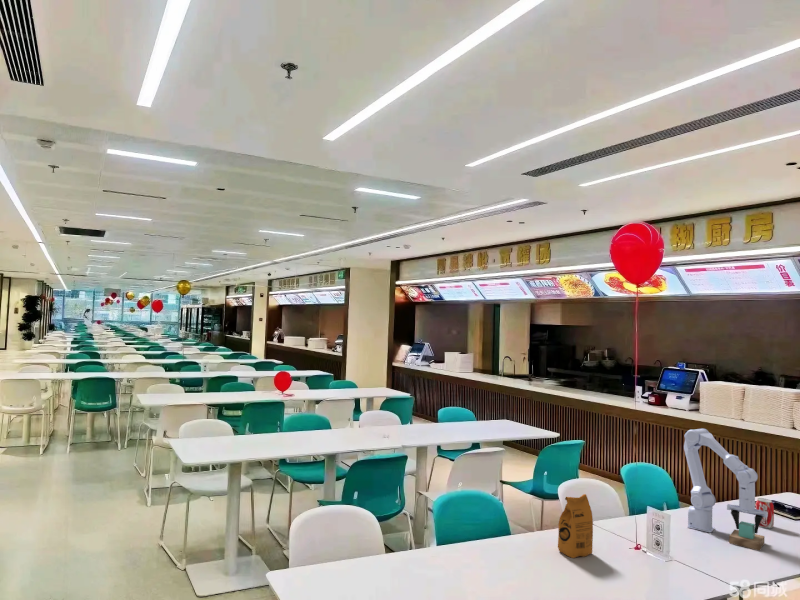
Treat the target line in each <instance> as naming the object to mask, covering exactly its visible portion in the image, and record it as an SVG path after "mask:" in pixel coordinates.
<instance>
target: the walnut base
mask: <svg viewBox="0 0 800 600" xmlns="http://www.w3.org/2000/svg"><path fill="white" fill-rule="evenodd" d="M728 536H729V537H728V538H729V539H728V540H729V541H728V543H729V544H731V545H736V546H739V547H740V546H741V547H743V548H747V549H752V550H756V551H761V550H762V549H763V546H764V545H765V535H761V534H758V533H757V534H756V533H755V537H754V538H753V539H749V538H745V537H741V536H739V529H733V531H732V532H731V533H730V534H729V535H728Z"/></svg>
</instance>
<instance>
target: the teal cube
mask: <svg viewBox="0 0 800 600" xmlns="http://www.w3.org/2000/svg"><path fill="white" fill-rule="evenodd" d="M738 530H739V536H741V537H745V538H749V539H753V538H754V537H755V534H756V533H755V523H751V522H748V521H747V522H746V521H742V520H741V521H739V529H738Z"/></svg>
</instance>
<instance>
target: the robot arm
mask: <svg viewBox="0 0 800 600" xmlns="http://www.w3.org/2000/svg"><path fill="white" fill-rule="evenodd" d="M683 435H684V443H683V450H684V454H685V457H686V462H687V466H688V471H689V474H690V478H691V479H690V480H691V482H692V486H693V487H692V488H691V490H690V494H691V495H690V496H691V497H690V502H691V505H690V506H689V507H688V511H687V528H689V529H694V530H697V531H702V532H707V533H712V532H713V531H714V530H715V529H716V528H715V527H714V526H713V509H714V508H713V507H714V506H715V504H716V502H717V501H716V497H715V495H714V494H713V493H712V489H711V488H710V487H708V485H707V481H706V479H705V474H704V470H703V466H702V461H701V458H700V454H699V450H700V449H701V446H705V447H708V448H709V449H711V450H712V451H713V452H714V453H716V454H717V456H719V457H720V458H721V459H723V460H722V461H723V464H724V465H725V467H727V468H728V469H729V470H730V471H731V472H732V473H733V474H734V475H735V477H736V480H737V482H738V505H737V504H729V503H727V505H726V510H728V511H730V514H731V516H732V518H733V521H734V523H735V528H736V529H735V530H739V523H740V513H744V514H749V515H752V516H753V515H754V524H755V534H757V535H758V531H759V527H760V526H759V524H760V522H761V520H762V518H763V517H765V518H767V517H768V512H765V511H761V510H757V509H756V482H757V481H758V478H759V475H758V473H757V472H756V471H755V469H754V468H752V467H751V468H750V467H749V466H748V465H746V464H745V463H743V461H741V460H740V457H739V456H738V455H735V454H730V453H729V452H728V451H727V450H726V448H724V447H723V446H722V445H721V443H719V441H718V440H716V439H715V437H714V436H713V434H712V433H711V432H709V430H708V429H706V428H702V427H701V428H697V429H689V430H687V431H686V432H685V434H683Z"/></svg>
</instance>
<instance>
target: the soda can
mask: <svg viewBox="0 0 800 600" xmlns="http://www.w3.org/2000/svg"><path fill="white" fill-rule="evenodd" d="M774 507H775V506H774V503H773V501H772V500H771V499H767V498H762V497H759V498H757V500H755V509H757V510H761V511H765V512H768V517H767V518H765V517H763V518H762V520H761V522H760V524H759V527H760V528H762V529H772V528H773V527H774V524H775V522H774V521H775V511H774V510H775V508H774Z"/></svg>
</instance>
